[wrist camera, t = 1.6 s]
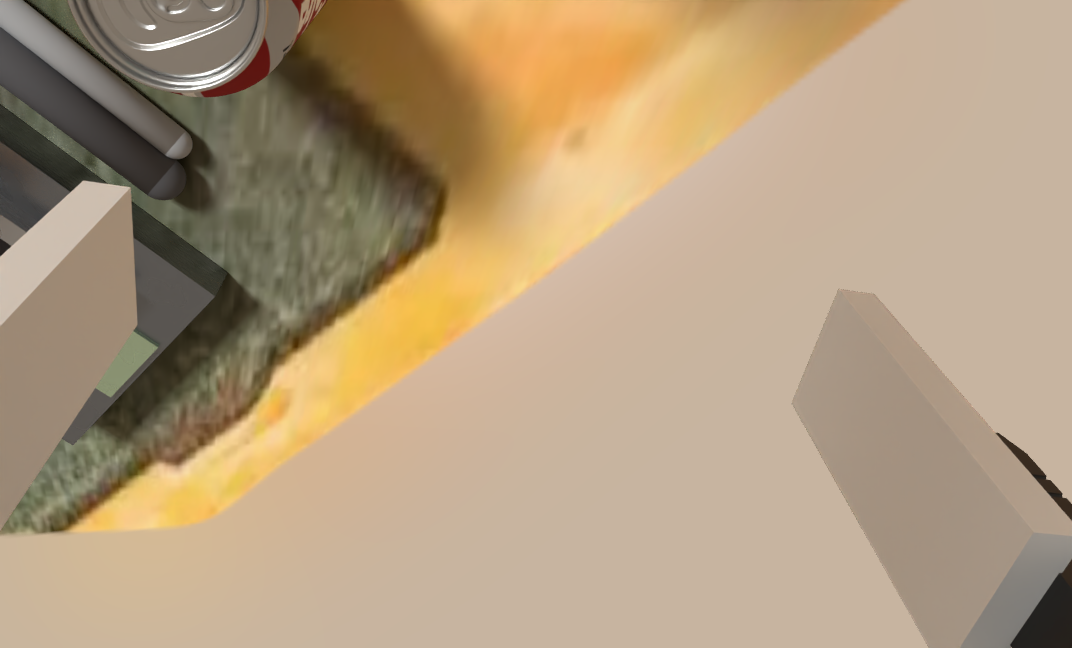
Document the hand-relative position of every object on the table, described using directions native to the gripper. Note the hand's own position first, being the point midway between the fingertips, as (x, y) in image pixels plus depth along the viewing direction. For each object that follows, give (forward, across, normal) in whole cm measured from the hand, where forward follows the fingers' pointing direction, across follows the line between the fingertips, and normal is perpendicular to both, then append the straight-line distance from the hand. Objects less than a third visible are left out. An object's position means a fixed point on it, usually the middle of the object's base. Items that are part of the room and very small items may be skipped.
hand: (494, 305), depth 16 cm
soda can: (+24, -9, +2) cm, 26 cm away
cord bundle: (+24, -18, -5) cm, 30 cm away
